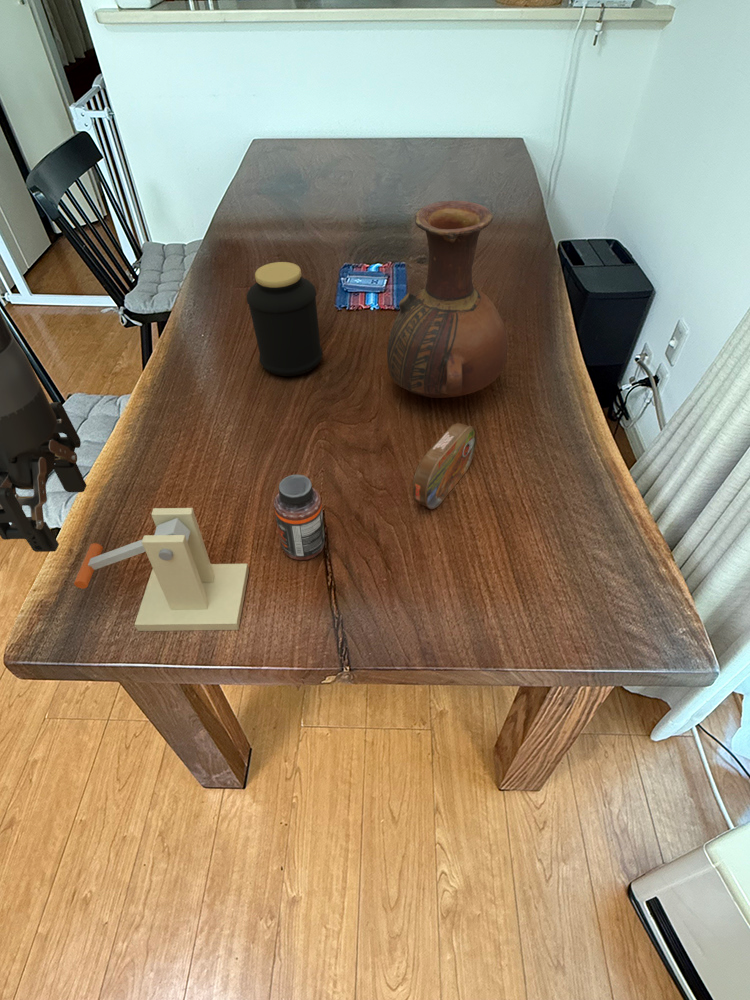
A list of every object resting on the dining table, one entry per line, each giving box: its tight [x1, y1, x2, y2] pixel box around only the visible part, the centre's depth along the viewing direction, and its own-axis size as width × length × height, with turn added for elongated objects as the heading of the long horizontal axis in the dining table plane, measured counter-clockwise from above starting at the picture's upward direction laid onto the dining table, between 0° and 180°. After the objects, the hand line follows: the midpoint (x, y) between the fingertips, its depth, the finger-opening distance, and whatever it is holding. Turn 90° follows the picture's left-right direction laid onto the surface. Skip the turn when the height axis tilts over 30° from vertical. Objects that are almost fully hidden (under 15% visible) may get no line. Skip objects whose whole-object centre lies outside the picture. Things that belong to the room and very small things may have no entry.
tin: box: [412, 422, 478, 510], centre depth 85 cm, size 15×3×8 cm, turn 146°
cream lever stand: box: [134, 507, 250, 632], centre depth 69 cm, size 12×9×14 cm
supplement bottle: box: [273, 474, 326, 561], centre depth 76 cm, size 6×6×11 cm
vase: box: [386, 200, 508, 399], centre depth 95 cm, size 25×20×30 cm
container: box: [246, 261, 324, 377], centre depth 105 cm, size 12×12×18 cm
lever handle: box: [73, 518, 191, 589], centre depth 67 cm, size 14×6×2 cm, turn 91°
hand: (63, 518), depth 64 cm, fingers open, 8 cm apart
